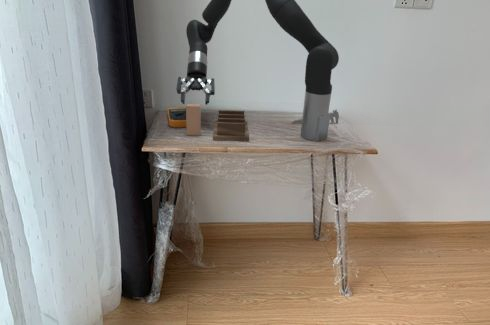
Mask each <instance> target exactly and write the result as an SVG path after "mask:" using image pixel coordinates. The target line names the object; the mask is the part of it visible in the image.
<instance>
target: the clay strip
mask: <svg viewBox="0 0 490 325" xmlns="http://www.w3.org/2000/svg"><path fill="white" fill-rule="evenodd" d="M185 108H186V124H187V127H186V136H201V135H202V124H201V123H202V119H201V118H202V116H201V115H202V114H201V113H202V109H201V108H202V105H201V104H197V103H196V104H195V103H194V104H192V103H191V104H190V103H188V104H186V105H185Z"/></svg>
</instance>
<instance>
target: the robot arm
mask: <svg viewBox="0 0 490 325" xmlns="http://www.w3.org/2000/svg"><path fill="white" fill-rule="evenodd" d="M264 1H265V3H266V7H267V9H268V11H269V13H270V15H271V17H272V18H273V19H274V20H275V22H276V23H277V24H278V25H279V27H280V28H281V29H282V30H283V31H284V32H285V33H286V34H288V35H289V36H290V37H292V38H293V39H295V40H296V41H297V42H299V43H300V44H301V45H302V46H303V47H304V48H305V50H306V51H307V53H308V55H307V57H306V63H305V74H304V75H305V76H304V84H305V93H304V100H303V101H304V102H303V110H302V117H301V119H302V123H301V127H300V133H299V134H300V137H301V138H302V139H305V140H308V141H315V142H320V141H322V140H325V139H328V132H329V129H330V128H329V127H330V122H331V120H330V114H329V113H330V112H329V110H330V105H331V104H330V103H331V97H332V90H333V84H332V83H331V79H332V70H334V69H335V68H336V67H337V65H338V64H339V60H340V59H339V56H340V55H339V53H338V51H337V49H336V47H334V45H333V44H332V43H330V42H329V41H328V40H327V39H326V38H325V36H323V35H322V33H320V32H319V30H318V29H317V28H316V27H315V25H314V24H313V22H312V21H311V19H310V18H309V17H308V15H306V13H305V12H304V11H303V9H302V8H301V6H300V5H299V4H298V2H297V1H296V0H264ZM231 3H232V0H210V1H209V3H208V4H207V5H206V6H205V8H204V9H203V11H202V14H201V16H202V19H203V20H204V21H205V22H206V24H205V23H203V22H201V21H199V20H197V19H192V20H190V21H189V22H188V23H187V26H186V31H185V32H186V38H187V42H188V46H189V50H188V58H187V66H186V67H187V68H186V77H185V78H184V77H183V78H182V76H178V77H177V83H176V88H175V89H176V93H177V94H180V102H181V103H182V105H183V104H184V105H185V102H186V94H187V93H189V92H190V91H202V92H203V93H204V95H205V100H204V101H205V105H208V104H210V100H211V99H210V98H211V97H210V96H215V87H216V86H215V78H214V77H212V78H211V79H208V78H207V77H208V76H207V72H208V46H207V44H208V43H209V42H210V41H211V40H212V39H213V36H214V33H215V30H216V29H217V26H218V25H219V22H220V21H221V20H222V19H223V17H224V16H225V15H226V13H227V12H228V10H229V8H230V6H231ZM184 83H185V84H184ZM182 85H184V86H183V87H182ZM207 85H209V86H210V87H211V88H210V89H209V88H208V87H207Z"/></svg>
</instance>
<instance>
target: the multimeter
mask: <svg viewBox="0 0 490 325" xmlns="http://www.w3.org/2000/svg"><path fill="white" fill-rule="evenodd" d="M166 112H167V116H168V124H169V127H171V128H174V129H176V128H187V124H186V106H185V107H183V106H182V107H168V108H167V110H166Z"/></svg>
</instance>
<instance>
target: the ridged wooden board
mask: <svg viewBox="0 0 490 325" xmlns="http://www.w3.org/2000/svg"><path fill="white" fill-rule="evenodd" d="M212 140H213V141H225V142H226V141H229V142H230V141H231V142H250V132H249V125H248V120H246V118H245V110H231V109H230V110H226V109H218V116H217V119H214V126H213V134H212Z"/></svg>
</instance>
